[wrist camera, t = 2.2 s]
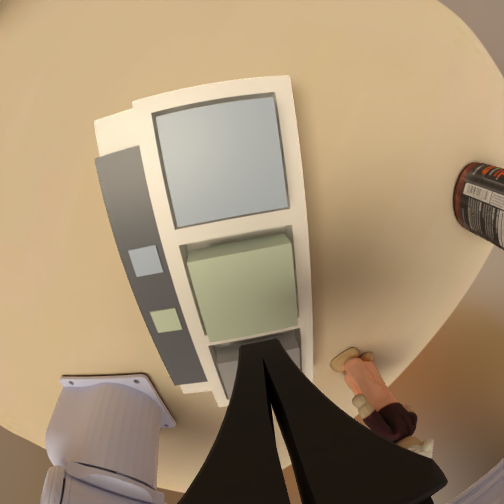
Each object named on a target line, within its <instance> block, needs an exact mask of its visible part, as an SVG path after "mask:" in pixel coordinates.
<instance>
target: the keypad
mask: <svg viewBox="0 0 504 504" xmlns="http://www.w3.org/2000/svg"><path fill="white" fill-rule="evenodd" d="M268 97H273V99H274V105H275V112H276V119H277V126H278V133H279V140H280V148H281V155H282V163H283V171H284V179H285V188H286V196H287V205H288V207H285V208H279V209H273V210H267V211H262V212H256V213H250V214H244V215H239V216H233V217H228V218H223V219H217V220H212V221H207V222H202V223H196V224H191V225H186V226H181V227H178V226H177V221H176V217H175V213H174V208H173V204H172V199H171V195H170V190H169V186H168V181H167V176H166V171H165V166H164V161H163V156H162V150H161V145H160V139H159V134H158V128H157V122H156V117H157V116H161V115H166V114H170V113H174V112H179V111H183V110H188V109H193V108H198V107H203V106H209V105H215V104H221V103H227V102H234V101H241V100H249V99H258V98H268ZM132 104H133V108H132V109H128V110H125V111H122V112H119V113H116V114H113V115H110V116H107V117H104V118H101V119H98V120H95V121H94V126H95V132H96V138H97V144H98V149H99V154H100V157H98V158H95V164H96V169H97V173H98V178H99V182H100V187H101V191H102V195H103V199H104V203H105V206H106V210H107V214H108V218H109V221H110V225H111V228H112V231H113V235H114V238H115V241H116V244H117V248H118V251H119V254H120V257H121V260H122V263H123V266H124V269H125V272H126V274H127V277H128V280H129V283H130V285H131V288H132V291H133V293H134V296H135V299H136V301H137V304H138V306H139V309H140V311H141V314H142V316H143V318H144V321H145V323H146V326H147V328H148V330H149V332H150V335H151V337H152V339H153V341H154V344H155V346H156V348H157V350H158V352H159V354H160V357H161V359H162V361H163V363H164V365H165V367H166V369H167V371H168V373H169V375H170V377H171V379H172V381H173V383H174V385H179V386H180V388H181V390H182V391H183V393H184V394H188V393H197V392H205V391H212V393H213V395H214V397H215V400H216V402H217V404H218V407H224V406H228V405H229V401H230V400H229V397H228V394H227V392H226V389H225V386H224V383H223V380H222V377H221V374H220V371H219V369H218V366H217V356H216V348H219V347H225V346H230V345H236V344H241V343H247V342H252V341H257V340H262V339H267V338H272V337H276V336H281V335H286V334H290V333H294V336H295V338H296V341H297V343H298V345H299V351H300V370H301V371H302V372H303V373H304V374H305V376H306V377H307V378H308V379H309V380H310V381H311V382H312V383H313V314H312V287H311V267H310V251H309V236H308V223H307V211H306V199H305V189H304V179H303V170H302V161H301V152H300V144H299V136H298V128H297V121H296V114H295V107H294V100H293V94H292V87H291V81H290V75H280V76H266V77H255V78H245V79H237V80H229V81H222V82H216V83H210V84H204V85H198V86H193V87H188V88H183V89H178V90H174V91H170V92H165V93H161V94H157V95H153V96H150V97H146V98H142V99H139V100H135V101H132ZM282 233H284V234H285V235H286V236H287V238H288V239H289V240H290V242H291V244H292V255H293V266H294V278H295V290H296V303H297V318H298V325H297V326H293V327H288V328H284V329H279V330H275V331H270V332H265V333H260V334H255V335H250V336H245V337H239V338H234V339H228V340H223V341H217V342H211V343H210V341H209V338H208V335H207V332H206V328H205V325H204V322H203V318H202V315H201V312H200V308H199V305H198V302H197V298H196V295H195V291H194V288H193V284H192V280H191V277H190V273H189V269H188V265H187V259H188V253H189V251H191V250H196V249H201V248H206V247H212V246H217V245H222V244H227V243H233V242H238V241H244V240H249V239H254V238H260V237H265V236H271V235H276V234H282Z"/></svg>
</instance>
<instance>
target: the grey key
mask: <svg viewBox="0 0 504 504" xmlns="http://www.w3.org/2000/svg"><path fill="white" fill-rule="evenodd" d="M275 338H276V339H278V340H279V341H280V343H281V344H282V346H283V348H284V349H285V351H286V352H287V353H288V355H289V356H290V358H291V359H292V360H293V361H294V363H295V364H296V365H297V366H298V368H299V369H300V351H299V345H298V343H297V341H296V338H295V336H294V333H290V334H286V335H281V336H276V337H272V338H267V339H262V340H257V341H252V342H247V343H241V344H236V345H230V346H225V347H219V348H216V356H217V366H218V369H219V371H220V374H221V377H222V380H223V383H224V386H225V389H226V392H227V394H228V397H229V400H230V398H231V395H232V391H233V386H234V382H235V378H236V372H237V366H238V357H239V347H240V346H241V345H246V344H251V343H256V342H261V341H266V340H271V339H275Z"/></svg>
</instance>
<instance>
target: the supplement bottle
mask: <svg viewBox="0 0 504 504" xmlns="http://www.w3.org/2000/svg"><path fill="white" fill-rule="evenodd" d="M454 202H455V203H454V205H455V212H456V216H457V219H458V221H459V223H460V224H461V225H462V226H463V227H464V228H466V229H468V230H469V231H471V232H473V233H474V234H476V235H478V236H480V237H482V238H484V239H485V240H487V241H489V242H491V243H493V244H494V245H496V246H498V247H499V248H501V249H503V250H504V169H502V168H498V167H495V166H491V165H487V164H484V163H472V164H470V165H468V166H467V167H466V168H465V169H464V170H463V172H462V173H461V175H460V177H459V179H458V182H457V185H456V190H455V196H454Z"/></svg>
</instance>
